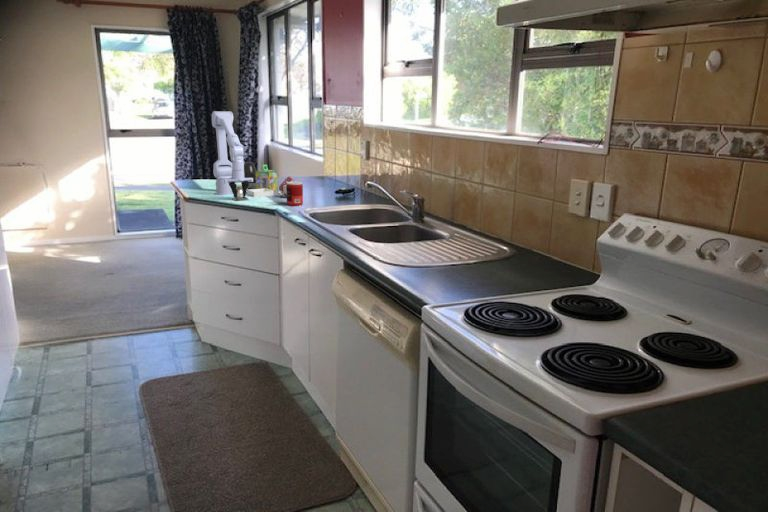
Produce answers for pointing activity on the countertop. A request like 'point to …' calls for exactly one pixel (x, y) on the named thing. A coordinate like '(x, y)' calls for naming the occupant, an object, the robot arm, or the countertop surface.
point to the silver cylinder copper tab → (239, 193)
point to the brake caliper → (284, 188)
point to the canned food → (294, 193)
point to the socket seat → (239, 199)
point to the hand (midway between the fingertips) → (239, 196)
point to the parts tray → (260, 192)
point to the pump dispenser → (250, 173)
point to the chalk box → (266, 179)
